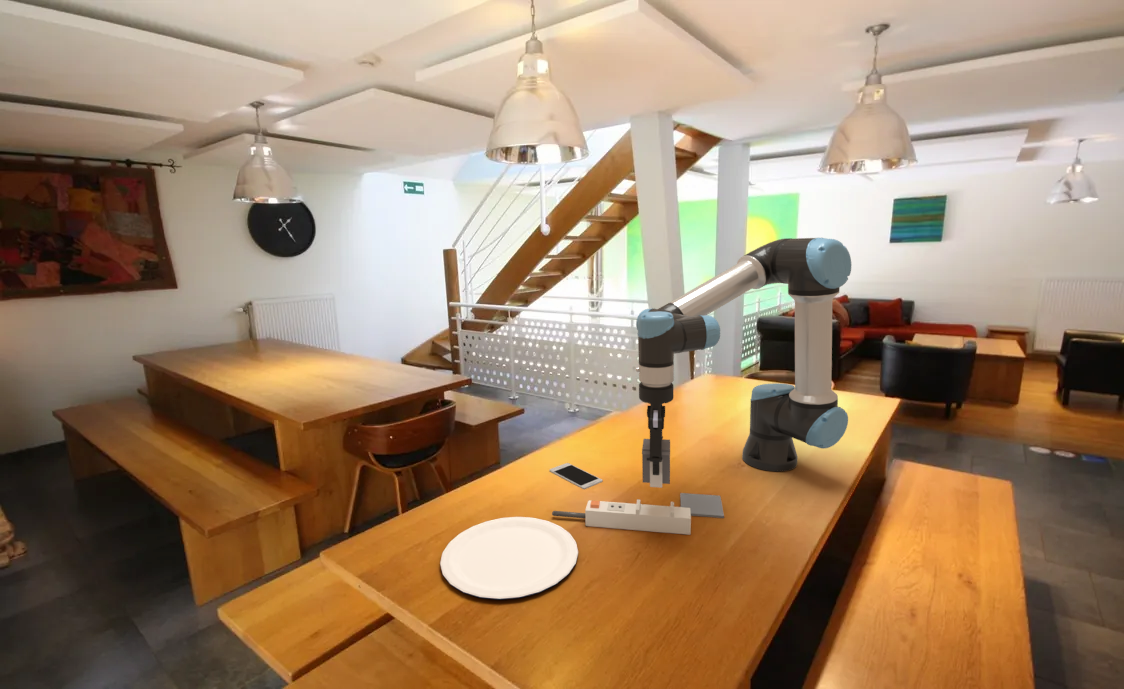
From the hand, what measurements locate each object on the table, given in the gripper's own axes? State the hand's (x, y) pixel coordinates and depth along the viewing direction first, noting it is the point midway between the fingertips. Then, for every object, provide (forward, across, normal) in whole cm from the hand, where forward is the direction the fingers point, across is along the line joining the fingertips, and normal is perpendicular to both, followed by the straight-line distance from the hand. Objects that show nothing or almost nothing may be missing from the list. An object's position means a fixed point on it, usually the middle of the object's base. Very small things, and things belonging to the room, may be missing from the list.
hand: (656, 479), depth 121 cm
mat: (+12, -11, +11) cm, 19 cm away
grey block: (-1, 0, 0) cm, 1 cm away
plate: (+12, +17, -30) cm, 37 cm away
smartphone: (+12, -23, -23) cm, 35 cm away
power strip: (+12, 0, -9) cm, 15 cm away
